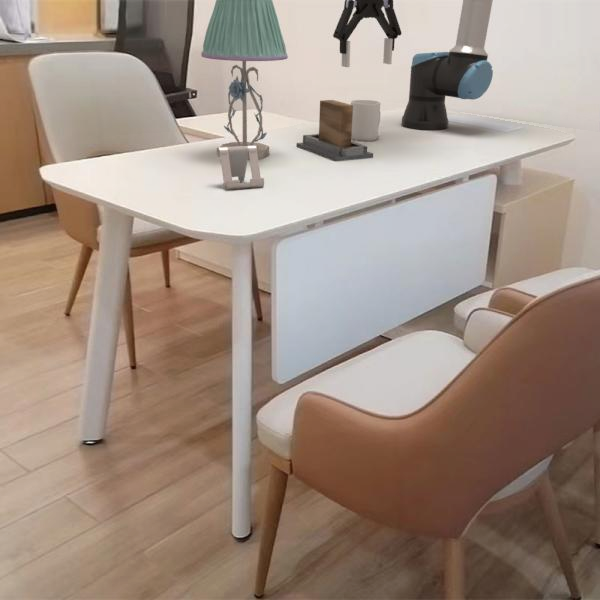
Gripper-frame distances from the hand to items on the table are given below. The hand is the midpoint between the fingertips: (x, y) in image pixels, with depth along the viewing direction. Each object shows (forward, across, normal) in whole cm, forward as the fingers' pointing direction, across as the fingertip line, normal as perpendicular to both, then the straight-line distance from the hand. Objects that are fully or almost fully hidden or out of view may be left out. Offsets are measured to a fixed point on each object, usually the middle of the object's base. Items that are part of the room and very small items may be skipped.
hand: (366, 65), depth 198 cm
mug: (+23, -9, -11) cm, 27 cm away
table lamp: (+21, +35, -4) cm, 41 cm away
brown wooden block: (+21, +11, +2) cm, 23 cm away
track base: (+22, +11, +2) cm, 24 cm away
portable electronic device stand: (+21, +50, +24) cm, 59 cm away
